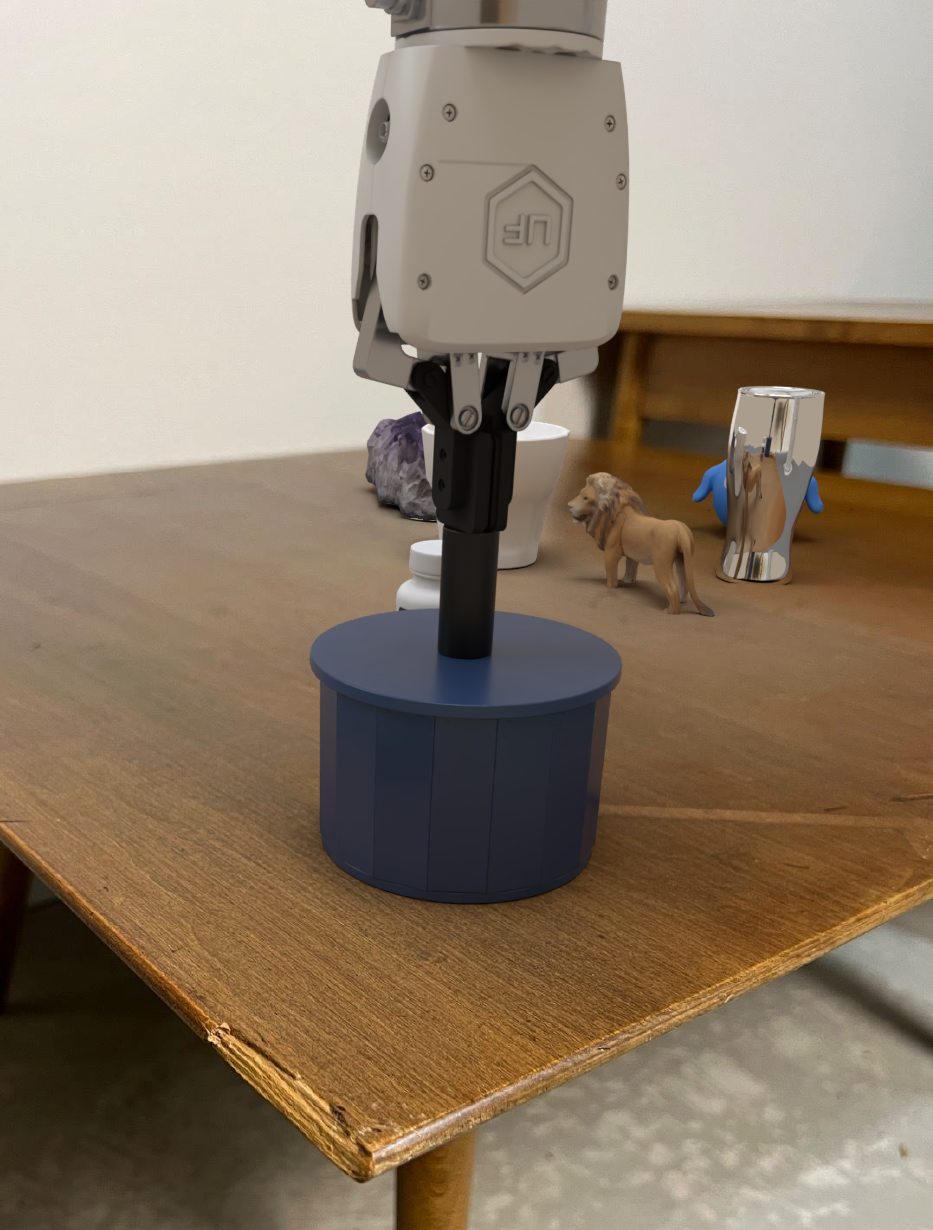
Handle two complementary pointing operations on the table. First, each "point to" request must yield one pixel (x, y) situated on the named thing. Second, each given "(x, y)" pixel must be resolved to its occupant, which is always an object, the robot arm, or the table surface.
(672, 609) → the lion figurine
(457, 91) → the robot arm
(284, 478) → the table surface
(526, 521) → the cup
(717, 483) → the blue mole toy
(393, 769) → the pot
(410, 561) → the pill bottle
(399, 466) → the geode
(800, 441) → the beer glass
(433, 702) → the lid
